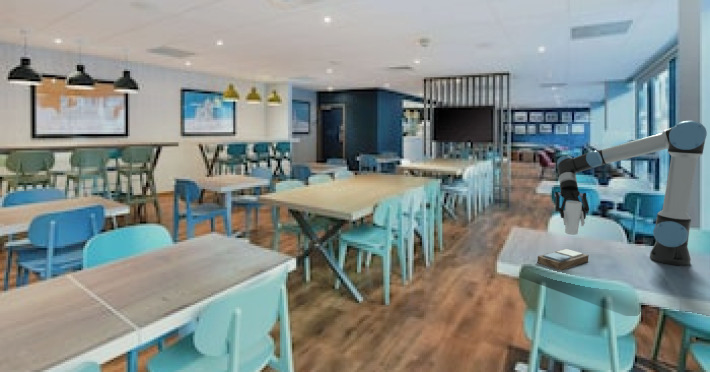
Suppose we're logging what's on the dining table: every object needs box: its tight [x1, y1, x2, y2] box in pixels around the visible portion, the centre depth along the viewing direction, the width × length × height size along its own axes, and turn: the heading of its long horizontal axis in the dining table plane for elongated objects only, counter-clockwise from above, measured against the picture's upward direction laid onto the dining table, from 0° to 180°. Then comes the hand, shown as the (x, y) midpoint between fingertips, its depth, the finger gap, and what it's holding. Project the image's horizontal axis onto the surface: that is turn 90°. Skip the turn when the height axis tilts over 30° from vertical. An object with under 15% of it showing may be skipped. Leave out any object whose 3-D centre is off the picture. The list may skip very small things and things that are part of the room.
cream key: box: [556, 248, 584, 258], centre depth 191 cm, size 8×8×3 cm
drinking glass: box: [564, 200, 583, 236], centre depth 189 cm, size 7×7×15 cm
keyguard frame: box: [537, 248, 589, 271], centre depth 189 cm, size 12×22×3 cm, turn 122°
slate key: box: [543, 251, 571, 262], centre depth 186 cm, size 8×8×3 cm
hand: (574, 224), depth 186 cm, fingers closed on drinking glass, 6 cm apart
